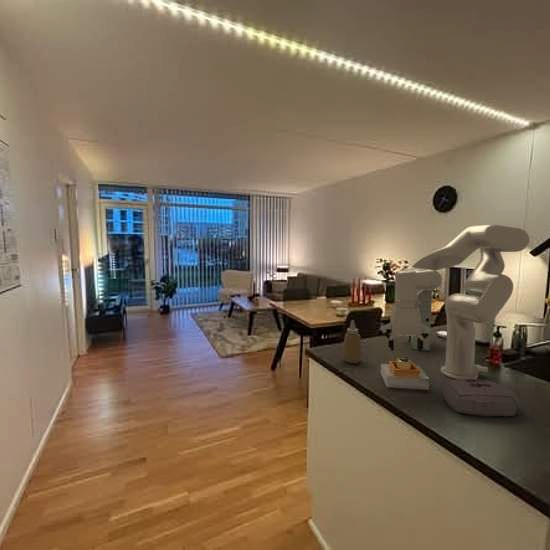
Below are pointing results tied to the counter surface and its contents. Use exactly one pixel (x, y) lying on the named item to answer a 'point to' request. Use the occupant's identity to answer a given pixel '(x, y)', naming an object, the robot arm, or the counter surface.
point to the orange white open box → (404, 377)
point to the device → (423, 318)
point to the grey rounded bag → (480, 397)
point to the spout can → (403, 363)
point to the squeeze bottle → (352, 345)
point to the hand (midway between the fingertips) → (405, 350)
